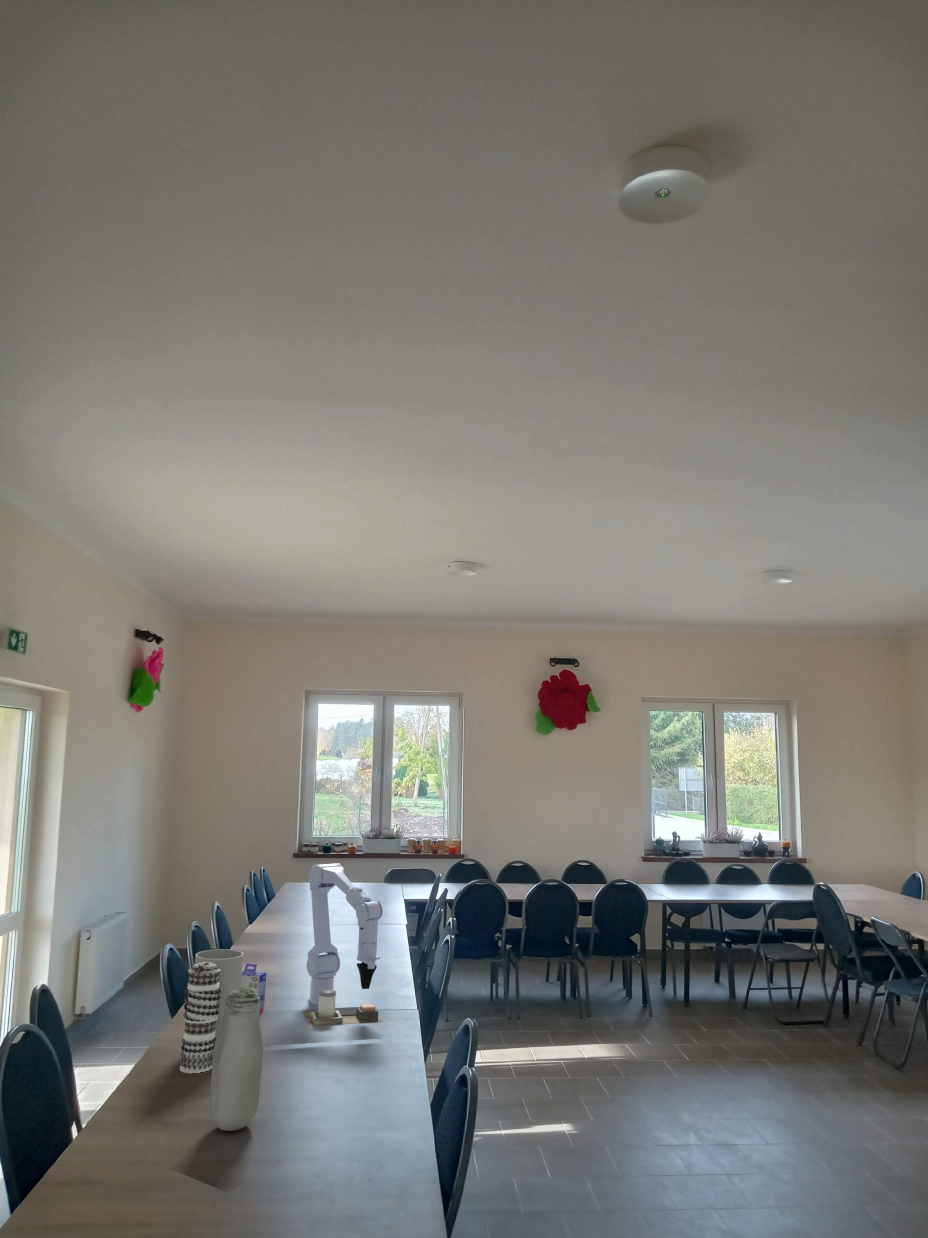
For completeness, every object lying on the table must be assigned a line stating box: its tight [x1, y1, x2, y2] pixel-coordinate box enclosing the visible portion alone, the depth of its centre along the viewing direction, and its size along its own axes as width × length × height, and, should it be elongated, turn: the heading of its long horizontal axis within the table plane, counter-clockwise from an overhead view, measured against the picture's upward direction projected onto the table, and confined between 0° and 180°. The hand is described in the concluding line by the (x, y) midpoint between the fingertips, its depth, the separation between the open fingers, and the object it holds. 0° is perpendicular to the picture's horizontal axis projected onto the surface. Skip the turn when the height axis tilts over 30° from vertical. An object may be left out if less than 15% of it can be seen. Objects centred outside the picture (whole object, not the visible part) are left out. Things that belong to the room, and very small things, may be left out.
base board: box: [302, 1005, 384, 1027], centre depth 261 cm, size 16×22×4 cm
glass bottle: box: [209, 987, 264, 1132], centre depth 184 cm, size 10×10×28 cm
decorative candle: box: [179, 962, 221, 1075], centre depth 218 cm, size 9×9×25 cm
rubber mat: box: [335, 1006, 358, 1016], centre depth 265 cm, size 8×8×1 cm
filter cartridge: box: [317, 989, 337, 1018], centre depth 257 cm, size 5×5×8 cm
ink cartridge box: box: [241, 963, 267, 1014], centre depth 264 cm, size 10×6×14 cm, turn 78°
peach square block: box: [360, 1003, 376, 1011], centre depth 260 cm, size 4×4×3 cm
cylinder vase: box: [194, 948, 244, 1043], centre depth 230 cm, size 12×12×25 cm
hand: (365, 988), depth 261 cm, fingers closed
